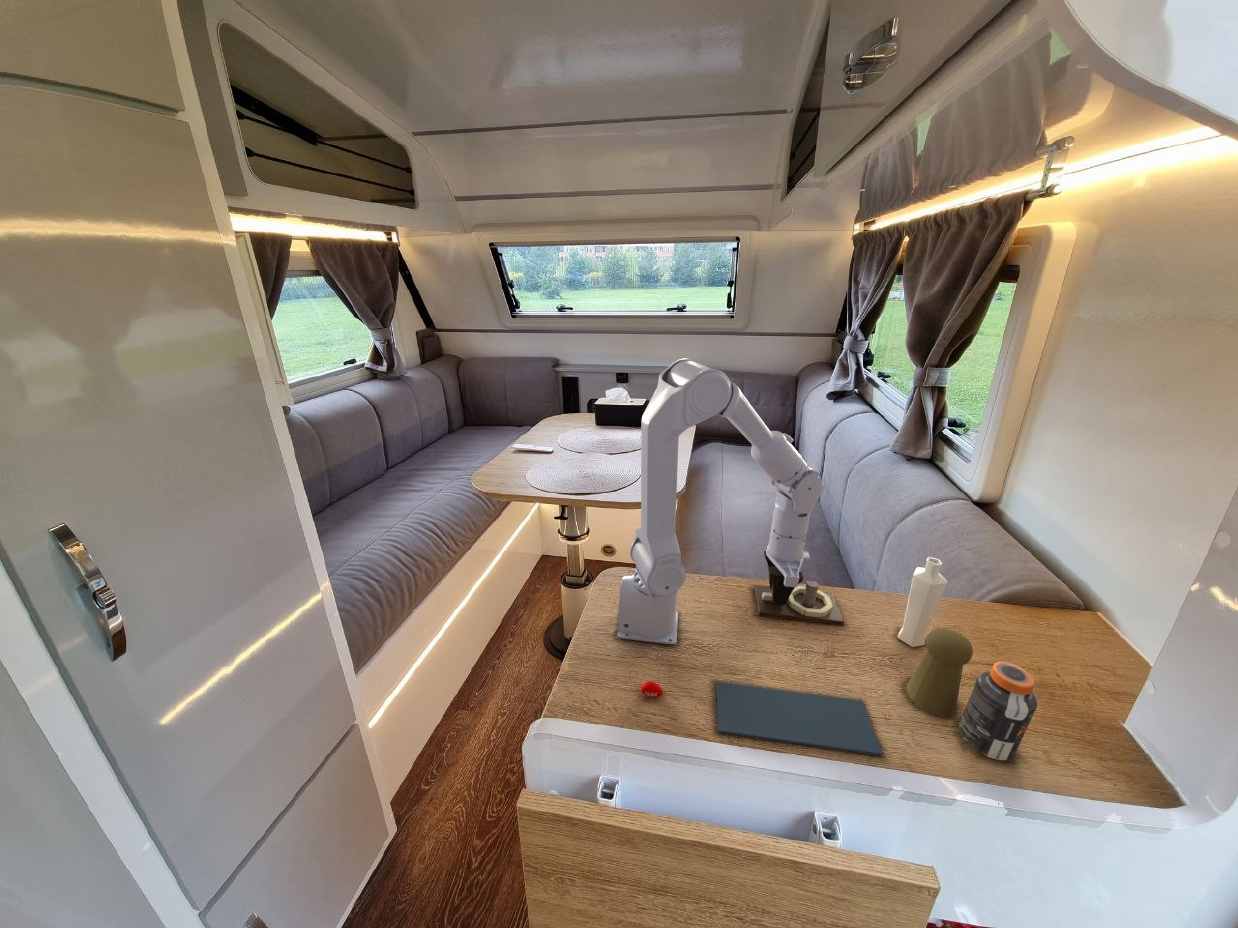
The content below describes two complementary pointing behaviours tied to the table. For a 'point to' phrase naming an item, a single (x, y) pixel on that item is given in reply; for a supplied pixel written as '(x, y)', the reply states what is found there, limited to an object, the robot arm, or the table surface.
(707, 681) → the table surface
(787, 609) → the peg stand
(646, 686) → the candy
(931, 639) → the pepper shaker
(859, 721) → the mat
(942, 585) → the perfume bottle
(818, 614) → the octagonal ring with handle
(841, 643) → the table surface
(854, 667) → the table surface
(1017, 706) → the pill bottle
